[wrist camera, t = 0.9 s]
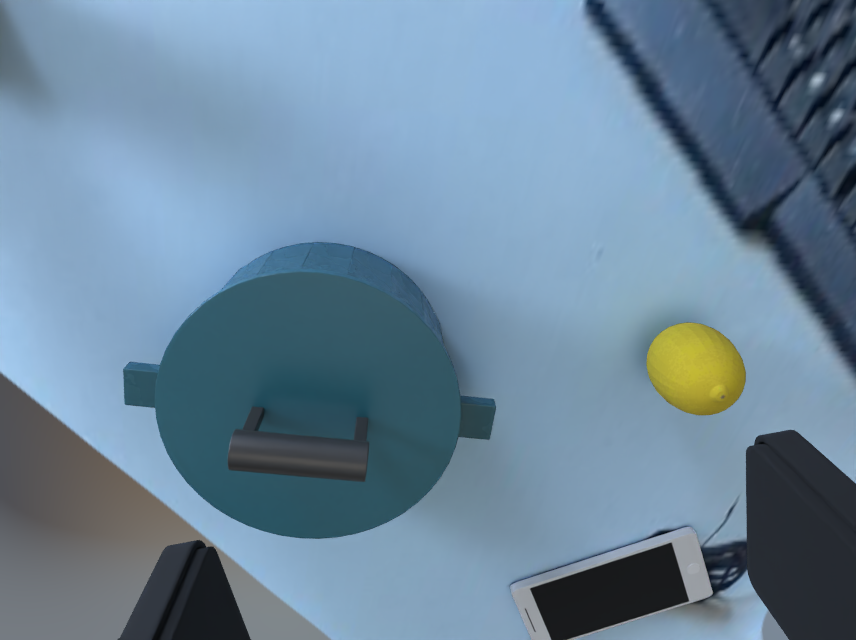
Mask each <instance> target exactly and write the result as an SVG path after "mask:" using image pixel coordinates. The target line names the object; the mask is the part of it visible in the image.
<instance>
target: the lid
mask: <svg viewBox="0 0 856 640" xmlns="http://www.w3.org/2000/svg"><path fill="white" fill-rule="evenodd" d="M155 409H156V419H157V424H158V428H159V432H160V436H161V438H162V441H163V443H164V446H165V448H166V451H167V453H168V455H169V457H170V458H171V460H172V462H173V464H174V465H175V467H176V469H177V470H178V471H179V473H180V474H181V475H182V477H183V478H184V479H185V480H186V482H187V483H188V484H189V485H190V486H191V487H192V488H193V489H194V490H195V491H196V492H197V493H198V494H199V495H200V496H201V497H202V498H203V499H205V500H206V501H207V502H208V503H210V504H211V505H212V506H213V507H215V508H216V509H218V510H220V511H221V512H223V513H224V514H226V515H228V516H229V517H231V518H233V519H235V520H237V521H239V522H241V523H243V524H245V525H248V526H251V527H253V528H256V529H259V530H262V531H265V532H269V533H273V534H277V535H282V536H289V537H296V538H315V539H320V538H333V537H341V536H346V535H352V534H356V533H360V532H363V531H366V530H370V529H373V528H375V527H377V526H380V525H382V524H384V523H387V522H389V521H391V520H392V519H394V518H396V517H398V516H399V515H401V514H403V513H404V512H406V511H407V510H408V509H410V508H411V507H412V506H414V505H415V504H416V503H418V502H419V501H420V500H421V499H422V498H423V497H424V496H425V495H426V494H427V493H428V492H429V491H430V490H431V489H432V487H433V486H434V485H435V484H436V482H437V481H438V480H439V479H440V477H441V475H442V474H443V472H444V470H445V469H446V467H447V465H448V464H449V462H450V459H451V457H452V454H453V452H454V450H455V447H456V443H457V439H458V435H459V432H460V423H461V396H460V391H459V386H458V381H457V376H456V373H455V370H454V367H453V364H452V361H451V359H450V357H449V355H448V353H447V351H446V349H445V347H444V345H443V343H442V341H441V340H440V339H439V337H438V336H437V335H436V333H435V332H434V330H433V329H432V328H431V326H430V325H429V324H428V323H427V322H426V321H425V320H424V319H423V318H422V317H421V316H420V315H419V314H418V313H417V312H416V311H415V310H414V309H413V308H411V307H410V306H409V305H408V304H406V303H405V302H404V301H403V300H402V299H400V298H398V297H397V296H395V295H393V294H392V293H390V292H389V291H387V290H385V289H384V288H381V287H379V286H377V285H375V284H373V283H370V282H368V281H366V280H363V279H360V278H357V277H354V276H351V275H347V274H344V273H339V272H333V271H327V270H319V269H287V270H278V271H273V272H268V273H263V274H258V275H255V276H252V277H249V278H246V279H243V280H241V281H238V282H236V283H234V284H232V285H230V286H228V287H226V288H224V289H222V290H220V291H219V292H217V293H216V294H215V295H213V296H212V297H210V298H209V299H207V300H206V301H204V302H203V303H202V304H201V305H200V306H199V307H198V308H197V309H196V310H195V311H194V312H192V313H191V314H190V315H189V317H188V318H187V319H186V320H185V322H184V323H183V324H182V325H181V326H180V328H179V329H178V330H177V331H176V333H175V334H174V336H173V338H172V340H171V341H170V343H169V345H168V347H167V348H166V351H165V353H164V356H163V358H162V361H161V363H160V366H159V371H158V375H157V380H156V388H155Z"/></svg>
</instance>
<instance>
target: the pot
mask: <svg viewBox="0 0 856 640" xmlns="http://www.w3.org/2000/svg"><path fill="white" fill-rule="evenodd" d="M287 269H319V270H327V271H333V272H339V273H344V274H347V275H351V276H354V277H357V278H360V279H363V280H366V281H368V282H370V283H373V284H375V285H377V286H379V287H381V288H384V289H385V290H387V291H389V292H390V293H392V294H393V295H395V296H397V297H398V298H400V299H402V300H403V301H404V302H405V303H406V304H408V305H409V306H410V307H411V308H413V309H414V310H415V311H416V312H417V313H418V314H419V315H420V316H421V317H422V318H423V319H424V320H425V321H426V322H427V323H428V324H429V325H430V326H431V328H432V329H433V330H434V332H435V333H436V335H437V336H438V337H439V339H440V340H441V341H442V343H443V339H442V333H441V328H440V323H439V321H438V319H437V317H436V315H435V313H434V311H433V309H432V307H431V305H430V303H429V301H428V300H427V299H426V297H425V296H424V294H423V293H422V292H421V290H420V289H419V288H418V287H417V286H416V284H415V283H414V282H413V281H412V280H411V279H410V278H409V277H408V276H407V275H405V274H404V273H403V272H402V271H401V270H399V269H398V268H397V267H396V266H394V265H392V264H391V263H389V262H388V261H386V260H384V259H383V258H381V257H379V256H376V255H374V254H372V253H370V252H368V251H365V250H362V249H358V248H355V247H352V246H347V245H342V244H336V243H322V242H315V243H301V244H296V245H291V246H286V247H283V248H280V249H277V250H274V251H271V252H269V253H267V254H265V255H263V256H261V257H259V258H257V259H255V260H253V261H252V262H251V263H249V264H248V265H246V266H244V267H243V268H241V269H240V270H238V271H237V272H236V274H235V275H234V276H233V277H232V278H231V279H230V280H229V281H228V283H227V284H226V285H225V286H224V287H223V288H222V289H224V288H226V287H228V286H230V285H232V284H234V283H236V282H238V281H241V280H243V279H246V278H249V277H252V276H255V275H258V274H263V273H268V272H273V271H278V270H287ZM222 289H221V290H222ZM443 345H444V344H443ZM159 366H160V365H156V364H146V363H137V362H129V363H128V364H127V365H126V367H125V368H124V369H123V373H124V399H125V405H133V406H143V407H154V408H155V388H156V380H157V375H158V371H159ZM495 410H496V405H495V401H494V399H488V398H478V397H468V396H461V423H460V432H459V435H458V437H466V438H476V439H487V440H489V439H490V435H491V430H492V425H493V420H494V415H495Z"/></svg>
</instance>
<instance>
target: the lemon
mask: <svg viewBox="0 0 856 640" xmlns="http://www.w3.org/2000/svg"><path fill="white" fill-rule="evenodd" d="M646 365H647V370H648V375H649V378H650V380H651V382H652V384H653V386H654V387H655V389H656V391H657V392H658V393H659V394H660V395H661V396H662V397H663V398H664V399H665V400H666V401H667V402H668V403H670V404H671V405H673V406H675V407H676V408H678V409H680V410H682V411H684V412H686V413H691V414H695V415H712V414H717V413H719V412H722V411H724V410H726V409H727V408H729V407H730V406H731V405H733V404H734V403H735V402H736V401H737V399H738V398H739V397H740V395H741V393H742V392H743V389H744V385H745V381H746V371H745V367H744V364H743V360H742V358H741V356H740V354H739V353H738V351H737V350H736V348H735V347H734V345H733V344H732V342H731V341H730V340H729V339H727V338H726V337H725V336H724V335H723V334H721V333H720V332H719V331H717V330H715V329H713V328H711V327H708V326H706V325H703V324H698V323H680V324H676V325H674V326H671V327H668V328H667V329H665V330H664V331H662V332H661V333H660V334H659V335H658V336H657V337H656V338H655V339H654V341H653V342H652V344H651V345H650V348H649V351H648V353H647V364H646Z"/></svg>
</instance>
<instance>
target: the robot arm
mask: <svg viewBox="0 0 856 640" xmlns="http://www.w3.org/2000/svg"><path fill="white" fill-rule="evenodd" d="M746 503H747V570H748V575H749V578H750V581H751V584H752V586H753V588H754V589H755V591H756V593H757V594H758V596H759V597H760V598H761V600H762V601H763V603H764V604H765V606H766V607H767V608H768V610H769V611H770V613H771V614H772V616H773V617H774V619H775V620H776V621H777V623H778V624H779V626H780V627H781V629H782V630H783V631H784V633H785V634H786V636H787V637H788V639H789V640H856V484H855V483H854V482H853V481H852V480H851V479H850V478H849V477H848V476H846V475H845V474H844V473H843V472H842V471H841V470H840V469H839V468H837V467H836V466H835V465H834V464H833V463H832V462H831V461H830V460H828V459H827V458H826V457H825V456H824V455H823V454H822V453H821V452H819V451H818V450H817V449H816V448H815V447H814V446H813V445H812V444H810V443H809V442H808V441H807V440H806V439H805V438H804V437H802V436H801V435H800V434H799V433H798V432H796V431H795V430H787V431H781V432H776V433H771V434H765V435H760V436H758V437H756V440H755V444H754V446H749V447H748V448H747V450H746ZM118 640H251V639H250V637H249V634H248V631H247V629H246V626H245V624H244V621H243V619H242V616H241V613H240V611H239V608H238V606H237V603H236V601H235V598H234V595H233V593H232V590H231V587H230V585H229V582H228V580H227V577H226V574H225V572H224V569H223V567H222V564H221V561H220V559H219V556H218V554H217V552H216V550H215V548H214V547H206V546H205V544H204V543H203V542H202V541H200V540H197V541H191V542H186V543H180V544H175V545H170V546H167V547H166V548H165V549H164V550H163V552H162V554H161V556H160V558H159V560H158V562H157V564H156V566H155V568H154V570H153V572H152V574H151V576H150V578H149V580H148V582H147V584H146V586H145V588H144V590H143V592H142V594H141V596H140V598H139V600H138V602H137V604H136V607H135V608H134V611H133V612H132V615H131V616H130V619H129V621H128V623H127V625H126V627H125V629H124V631H123V633H122V635H121V637H120V638H119V639H118Z"/></svg>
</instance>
